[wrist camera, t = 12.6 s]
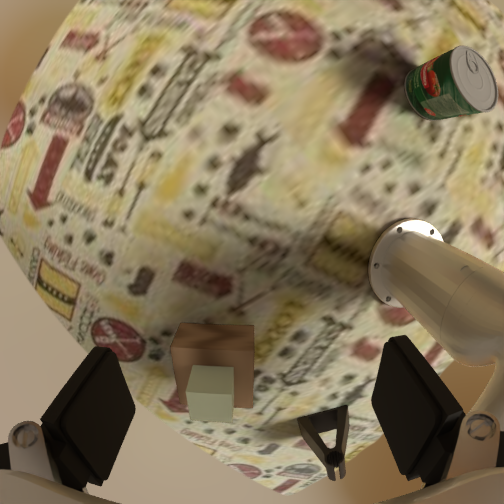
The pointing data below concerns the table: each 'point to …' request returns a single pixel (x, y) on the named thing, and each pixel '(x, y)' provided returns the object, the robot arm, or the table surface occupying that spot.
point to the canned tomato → (452, 85)
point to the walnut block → (215, 356)
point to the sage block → (211, 393)
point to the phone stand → (310, 431)
